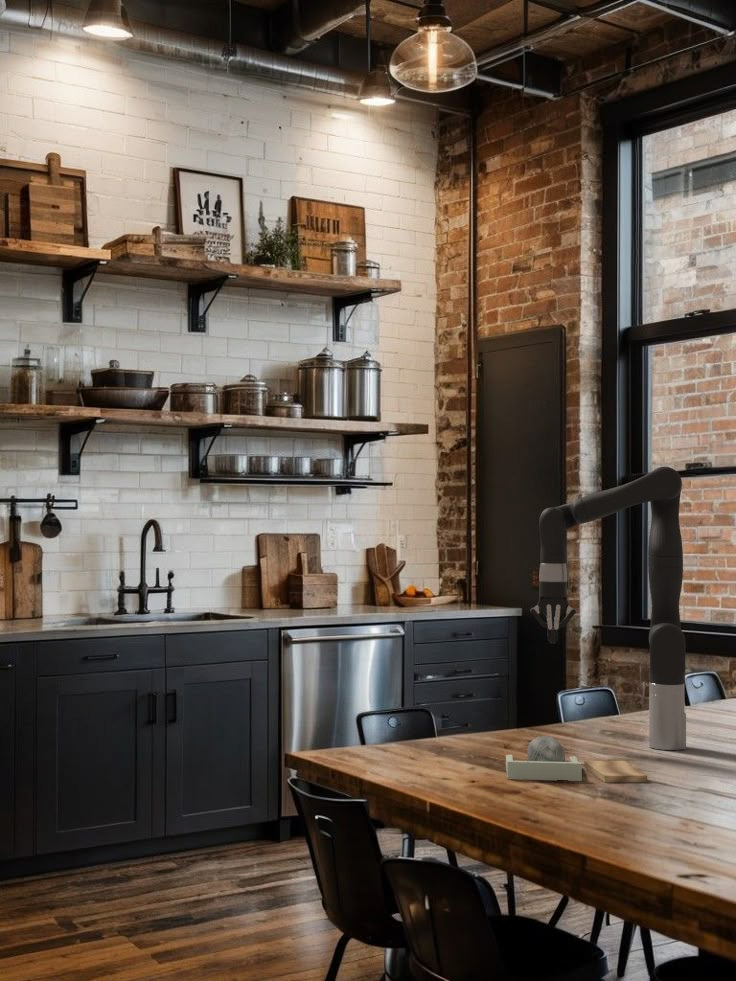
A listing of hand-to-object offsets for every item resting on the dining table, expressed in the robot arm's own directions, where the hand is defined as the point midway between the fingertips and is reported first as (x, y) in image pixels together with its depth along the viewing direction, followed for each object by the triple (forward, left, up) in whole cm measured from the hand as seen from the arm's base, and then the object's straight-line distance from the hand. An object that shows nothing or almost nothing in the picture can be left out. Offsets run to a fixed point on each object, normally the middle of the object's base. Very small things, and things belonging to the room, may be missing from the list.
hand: (552, 642), depth 332 cm
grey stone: (+4, +42, -27) cm, 51 cm away
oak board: (-12, +44, -27) cm, 53 cm away
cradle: (+5, +43, -27) cm, 51 cm away
